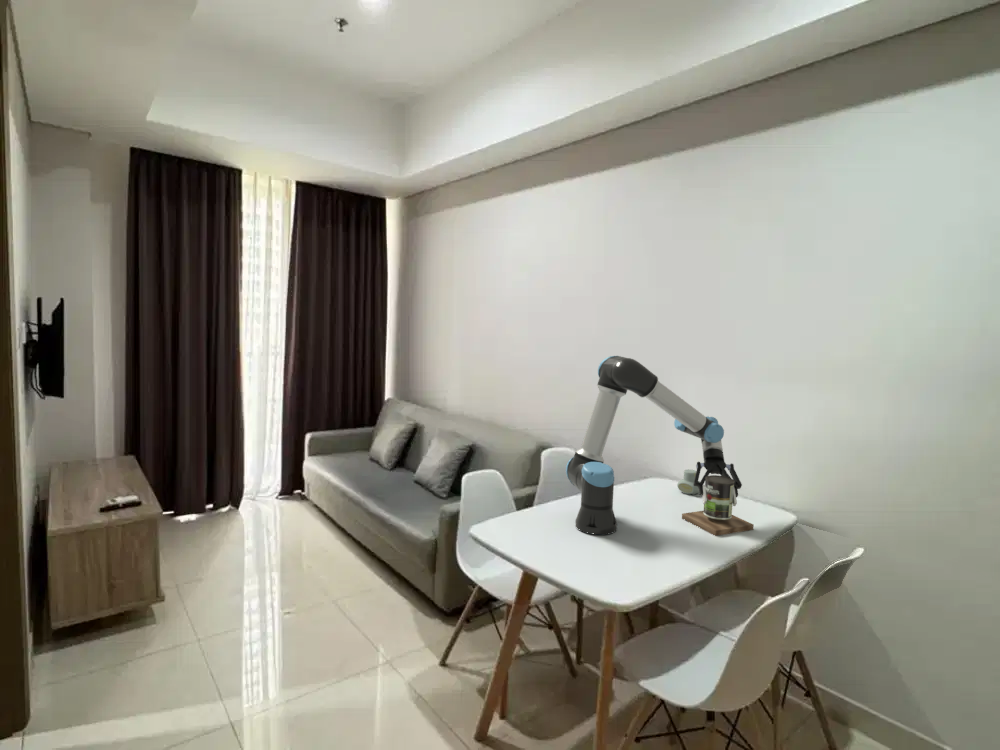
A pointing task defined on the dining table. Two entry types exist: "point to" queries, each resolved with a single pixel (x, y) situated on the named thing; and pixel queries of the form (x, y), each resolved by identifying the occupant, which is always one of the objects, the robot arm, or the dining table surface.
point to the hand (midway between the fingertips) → (720, 503)
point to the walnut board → (717, 523)
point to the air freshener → (688, 483)
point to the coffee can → (718, 497)
